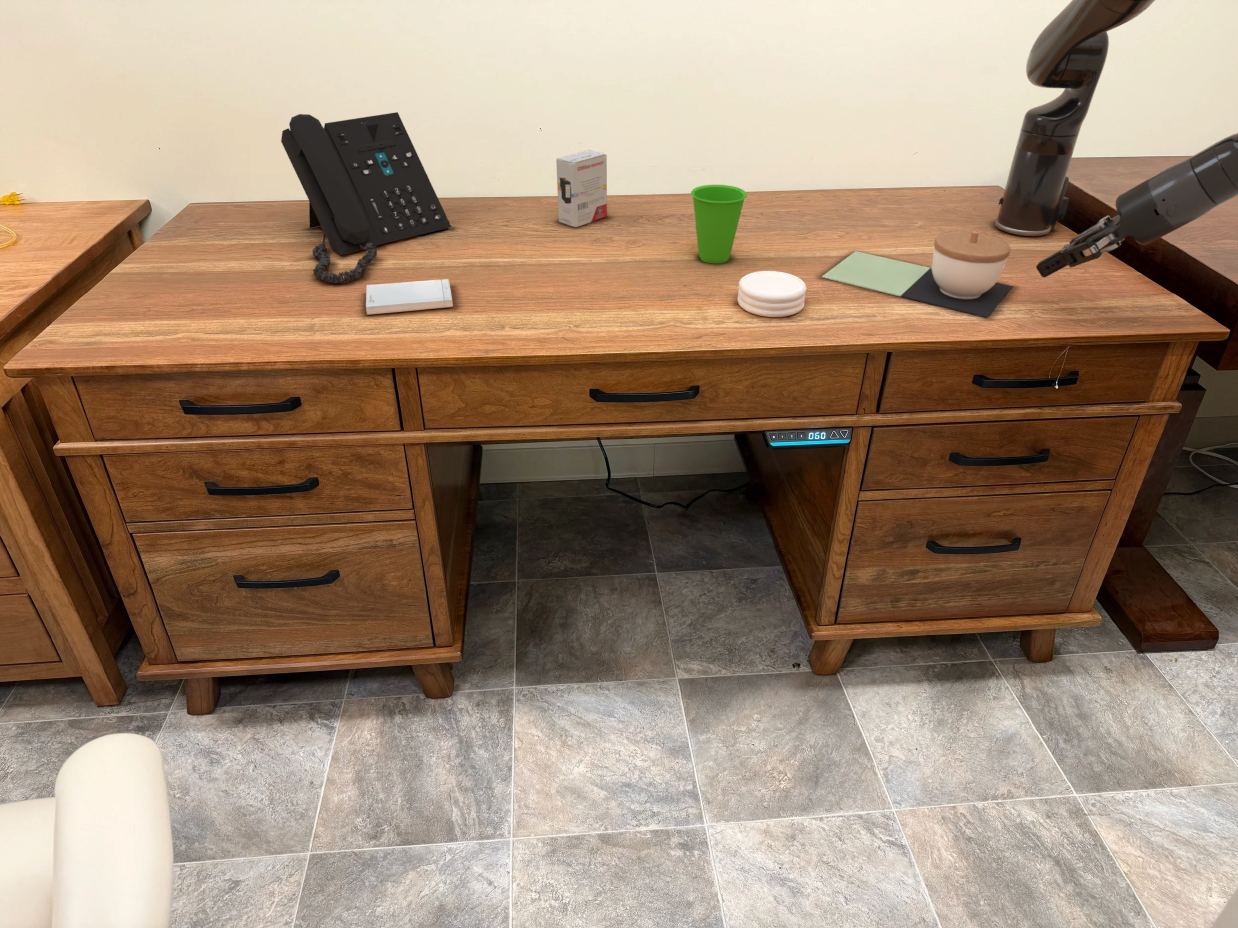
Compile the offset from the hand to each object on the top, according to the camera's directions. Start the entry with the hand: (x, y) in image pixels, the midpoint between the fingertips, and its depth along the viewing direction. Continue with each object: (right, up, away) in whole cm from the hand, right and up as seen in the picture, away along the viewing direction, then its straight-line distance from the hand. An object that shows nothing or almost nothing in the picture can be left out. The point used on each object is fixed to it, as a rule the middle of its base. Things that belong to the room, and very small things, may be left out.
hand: (1040, 270), depth 121 cm
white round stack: (-38, -4, +4) cm, 39 cm away
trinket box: (-8, -1, +8) cm, 12 cm away
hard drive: (-93, -4, +5) cm, 93 cm away
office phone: (-105, +10, +25) cm, 108 cm away
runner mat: (-14, +1, +12) cm, 18 cm away
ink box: (-68, +18, +36) cm, 79 cm away
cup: (-45, +7, +20) cm, 50 cm away
